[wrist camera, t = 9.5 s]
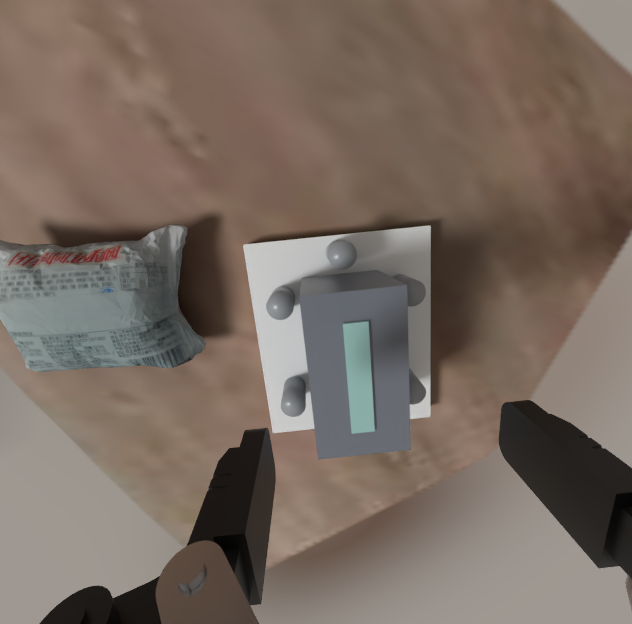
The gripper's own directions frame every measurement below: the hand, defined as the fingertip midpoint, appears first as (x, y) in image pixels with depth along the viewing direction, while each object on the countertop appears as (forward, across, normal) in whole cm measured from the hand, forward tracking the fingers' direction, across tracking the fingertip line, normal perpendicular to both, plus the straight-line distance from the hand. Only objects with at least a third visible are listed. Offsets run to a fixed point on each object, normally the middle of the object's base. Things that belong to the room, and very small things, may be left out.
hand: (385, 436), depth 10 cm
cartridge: (+11, 0, 0) cm, 11 cm away
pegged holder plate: (+12, 0, +1) cm, 12 cm away
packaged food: (+12, +15, -4) cm, 20 cm away
